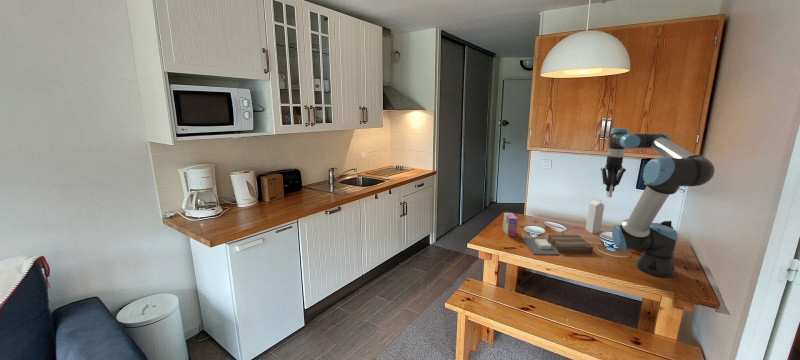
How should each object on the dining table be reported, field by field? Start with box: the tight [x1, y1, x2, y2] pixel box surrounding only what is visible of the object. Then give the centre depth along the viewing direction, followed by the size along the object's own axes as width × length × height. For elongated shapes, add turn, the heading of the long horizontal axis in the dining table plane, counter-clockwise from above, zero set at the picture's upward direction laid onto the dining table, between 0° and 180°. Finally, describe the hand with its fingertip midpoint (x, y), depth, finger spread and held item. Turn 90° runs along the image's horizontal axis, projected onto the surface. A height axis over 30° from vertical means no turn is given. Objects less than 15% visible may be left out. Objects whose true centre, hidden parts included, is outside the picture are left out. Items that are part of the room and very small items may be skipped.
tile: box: [535, 238, 551, 249], centre depth 190 cm, size 9×6×2 cm, turn 177°
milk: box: [585, 197, 605, 234], centre depth 211 cm, size 6×6×22 cm
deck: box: [547, 234, 594, 255], centre depth 190 cm, size 16×18×4 cm
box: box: [502, 212, 519, 237], centre depth 210 cm, size 10×6×12 cm, turn 179°
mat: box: [521, 237, 561, 256], centre depth 191 cm, size 22×14×1 cm, turn 177°
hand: (608, 196), depth 187 cm, fingers closed
